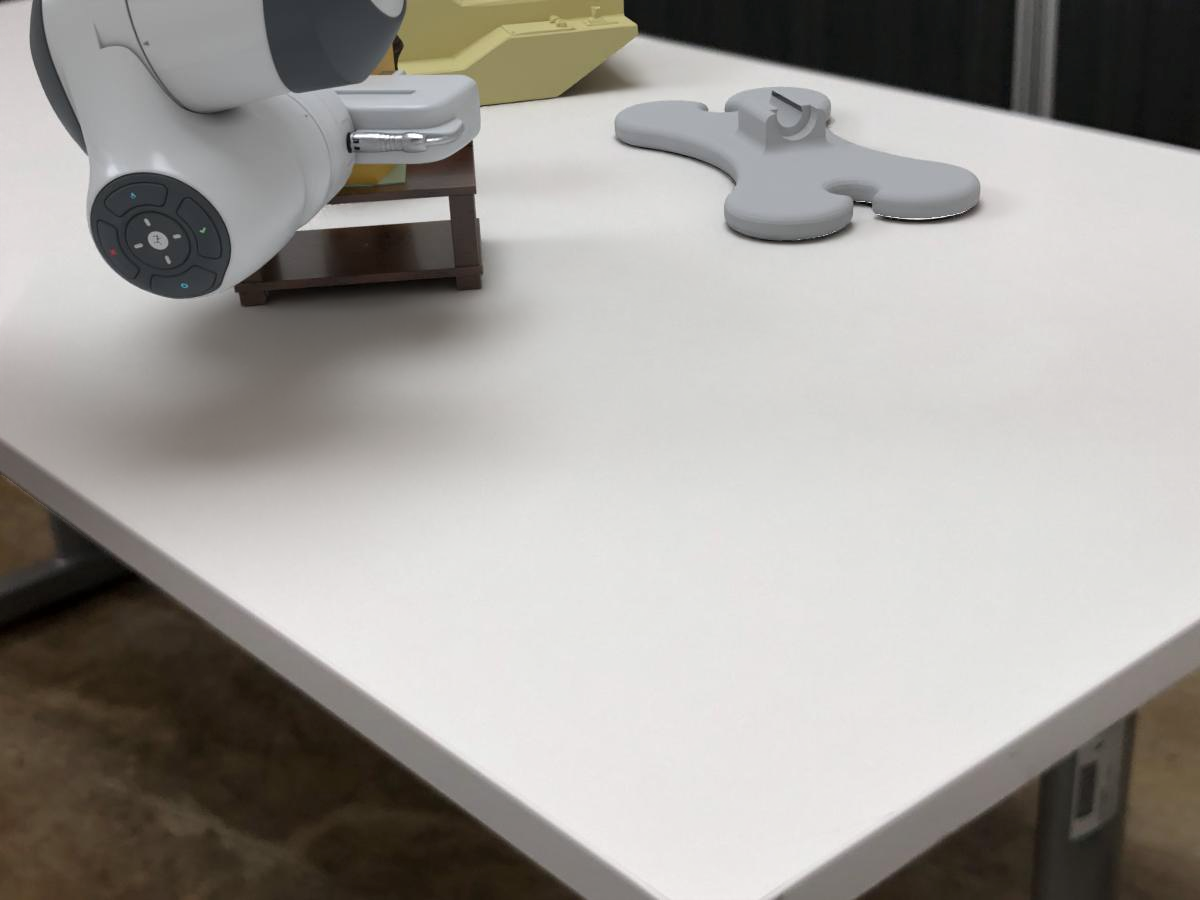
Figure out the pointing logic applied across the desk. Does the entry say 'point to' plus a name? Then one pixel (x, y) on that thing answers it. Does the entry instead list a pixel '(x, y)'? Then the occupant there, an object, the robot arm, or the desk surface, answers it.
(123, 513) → the desk surface
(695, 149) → the holder
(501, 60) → the control panel
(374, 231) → the rack
